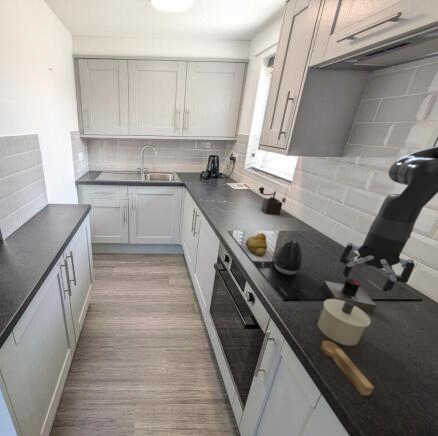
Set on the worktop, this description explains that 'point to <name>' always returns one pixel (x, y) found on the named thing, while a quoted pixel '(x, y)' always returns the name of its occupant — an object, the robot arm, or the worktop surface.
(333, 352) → the spoon
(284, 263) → the dark grey egg shape
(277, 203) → the manual coffee grinder
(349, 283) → the knob
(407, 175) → the robot arm
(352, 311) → the pot lid
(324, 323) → the pot
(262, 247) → the bread roll
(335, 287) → the grey flat piece
